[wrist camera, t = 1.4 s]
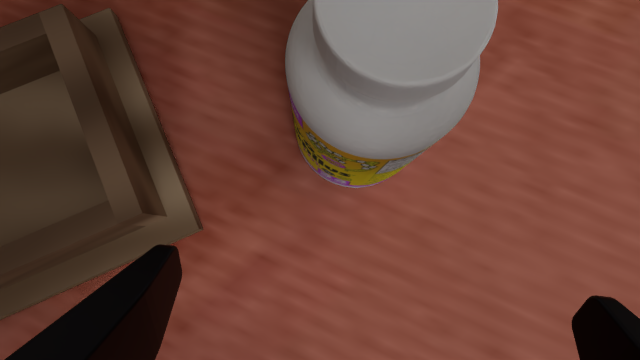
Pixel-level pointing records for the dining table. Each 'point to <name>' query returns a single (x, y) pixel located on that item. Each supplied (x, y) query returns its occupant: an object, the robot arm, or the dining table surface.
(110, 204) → the walnut collar
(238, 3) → the dining table surface
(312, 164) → the supplement bottle
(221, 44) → the dining table surface
